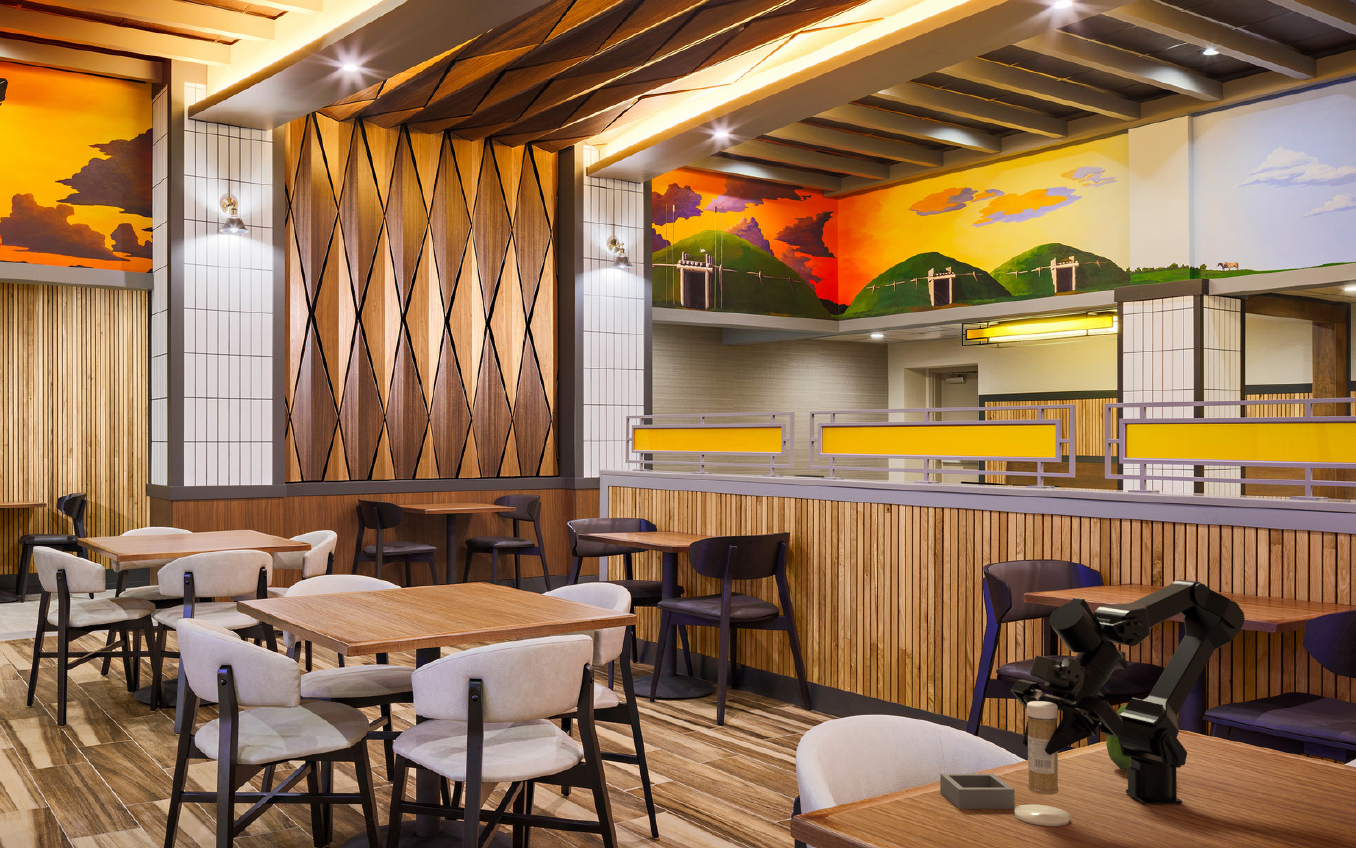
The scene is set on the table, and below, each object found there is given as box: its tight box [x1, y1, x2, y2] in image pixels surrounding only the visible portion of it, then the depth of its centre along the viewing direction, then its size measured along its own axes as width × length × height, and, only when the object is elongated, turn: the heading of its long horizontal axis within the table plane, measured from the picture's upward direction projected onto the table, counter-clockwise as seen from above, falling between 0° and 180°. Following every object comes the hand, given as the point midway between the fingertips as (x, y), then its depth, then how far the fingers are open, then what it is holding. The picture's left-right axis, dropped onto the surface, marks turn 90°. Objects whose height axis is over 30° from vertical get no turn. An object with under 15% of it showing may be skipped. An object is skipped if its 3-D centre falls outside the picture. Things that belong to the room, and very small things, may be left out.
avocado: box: [1105, 703, 1131, 772], centre depth 190 cm, size 8×8×12 cm
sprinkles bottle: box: [1026, 701, 1059, 796], centre depth 162 cm, size 5×5×13 cm
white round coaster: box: [1014, 804, 1071, 827], centre depth 162 cm, size 8×8×1 cm
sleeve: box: [939, 773, 1016, 810], centre depth 170 cm, size 9×9×3 cm
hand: (1035, 749), depth 162 cm, fingers closed on sprinkles bottle, 4 cm apart
